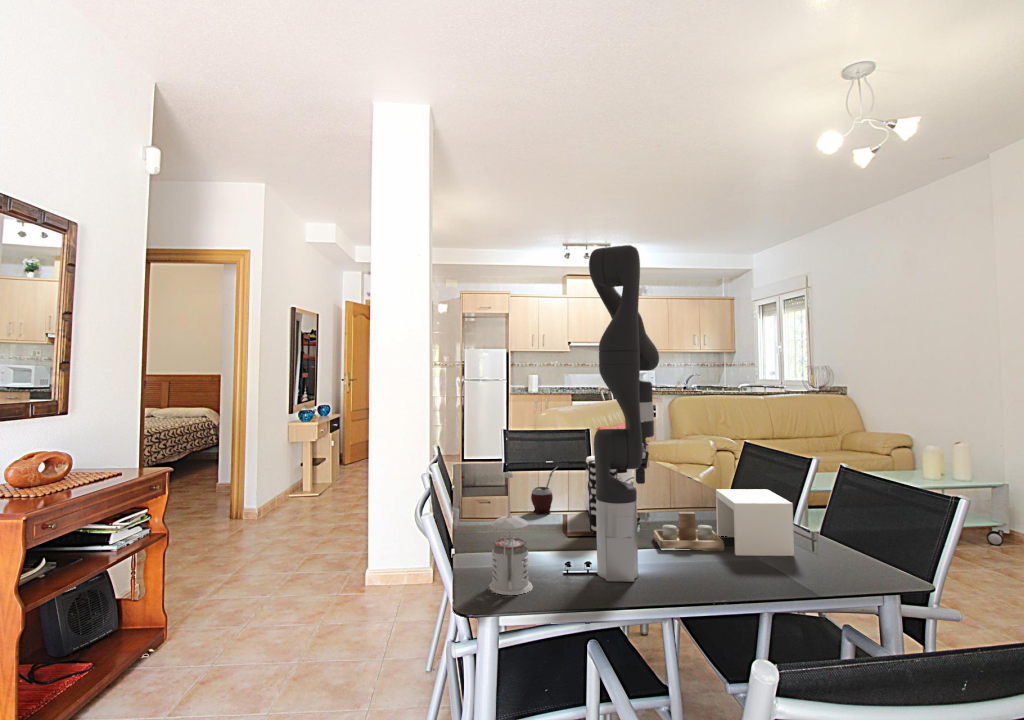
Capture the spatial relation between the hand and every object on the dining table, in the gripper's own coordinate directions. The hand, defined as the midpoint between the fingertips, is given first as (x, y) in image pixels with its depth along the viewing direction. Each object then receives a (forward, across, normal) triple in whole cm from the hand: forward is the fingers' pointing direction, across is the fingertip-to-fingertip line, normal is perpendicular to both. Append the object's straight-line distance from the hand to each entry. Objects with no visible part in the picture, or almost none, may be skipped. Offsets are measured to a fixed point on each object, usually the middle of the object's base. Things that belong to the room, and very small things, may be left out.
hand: (640, 483), depth 147 cm
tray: (+16, 0, +12) cm, 20 cm away
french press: (+16, +31, -33) cm, 48 cm away
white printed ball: (+17, -32, -5) cm, 36 cm away
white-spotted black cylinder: (+17, -12, -9) cm, 22 cm away
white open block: (+16, 0, +29) cm, 33 cm away
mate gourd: (+17, -32, -27) cm, 45 cm away
